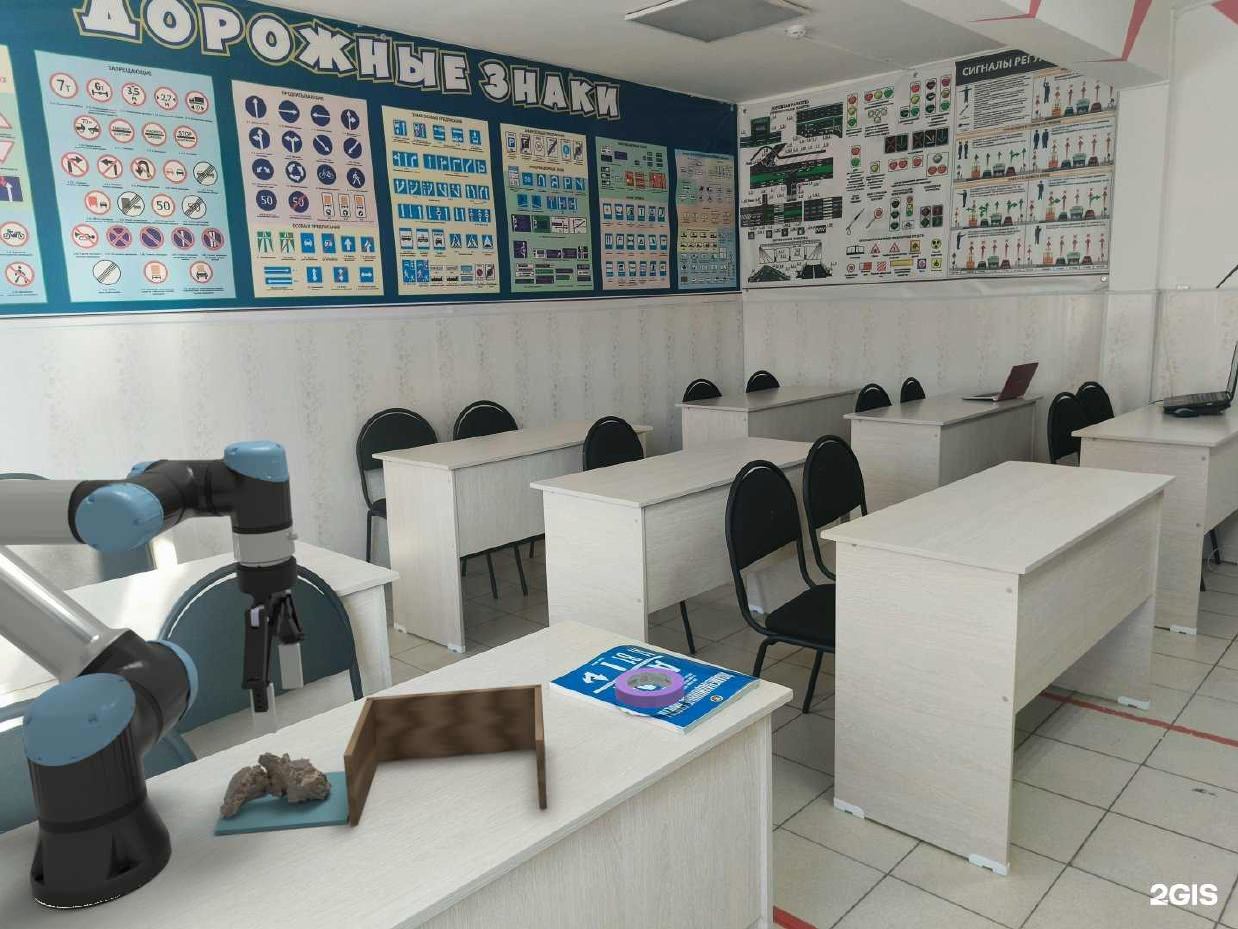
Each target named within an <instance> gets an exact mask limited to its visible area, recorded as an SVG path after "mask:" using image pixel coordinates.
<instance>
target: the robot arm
mask: <svg viewBox="0 0 1238 929" xmlns="http://www.w3.org/2000/svg"><path fill="white" fill-rule="evenodd" d="M286 454H287V453H286V449H285V447H284V445H282V444H281V443H280V442H278V441H274V440H253V441H241V442H235V443H231V444H229V445H227V446H225V448H224V451H223V456H222V458H220V459H219V458H218V459H217V458H216V459H174V460H173V459H167V458H162V459H161V458H160V459H157V460H150V461H141V462H139V463H136V464H134V465H133V466H132V467H131V470H130V472H128V473H127V475H126V478H123V479H0V636H1V637H2V638H4V639H5V640H6V641H7V642H9V643H10V644H12V645H13V646H15V647H16V648H17V649H18V650H20V652H22V653H23V654H25V655H26V656H27V657H29V658H30V659H31V660H32V661H34V662H35V663H37V664H38V665H39V666H40V667H42V668H43V669H44V670H46V671H47V672H48V673H49V674H50V675H52V676H53V677H54V678H56V679H57V682H58V684H55V685H54V686H52V687H50V688H49V689H47V690H44V691H43V692H42V693H41V694H40V695H38V696H37V697H36V698H35V699H33V701H32V702H31V703H30V704H29V705H28V707H27V708H26V710H25V712H24V714H23V717H22V733H23V734H22V748H23V751H24V753H25V756H26V761H27V766H28V771H29V777H30V782H31V788H32V794H33V800H34V806H35V811H36V817H37V820H38V833H37V834H38V835H37V837H36V844H35V849H34V853H33V857H32V862H31V867H30V871H29V881H30V886H31V887H30V888H31V893H33V894H32V897H33V896H34V897H35V898H36V899H37V900H38V901H40V902H42V903H45V904H46V905H51V906H55V907H57V906H58V907H73V906H74V907H75V906H84V905H87V904H88V905H89V904H95V903H97V902H100V901H105V900H109V901H111V900H110V899H111V898H115V897H117V896H119V895H122V896H124V895H126V894H128V893H130V892H132V891H134V890H136V889H137V888H136V887H138V886H139V885H141V884H143V883H144V884H146V883H147V882H149V881H150V880H151V879H152V878H151V877H153V878H154V877H156V875H157V874H156V873H158V872H159V871H160V870H161V869H162V870H163V868H164V867H165V866H166V865H167V863H168V862H169V860H170V858H171V856H172V844H171V843H172V842H171V837H170V836H171V835H170V832H169V828H167V826H166V825H165V823H164V821H163V820H162V817H161V815H160V814H159V813H158V811H157V809H156V808H155V806H154V804H153V803H152V801H151V799H150V798H149V795H148V789H147V781H146V775H145V768H144V762H143V761H144V757H145V756H146V755H147V754H148V752H150V751H151V750H152V749H153V747H155V746H156V745H157V744H158V743H159V742H160V741H161V740H162V739H163V738H164V737H165V736H166V734H168V732H169V731H170V730H171V729H174V727H175V726H177V725H178V724H179V723H180V722H181V720H182V719H183V718H184V717H185V716H186V714H187V712H188V711H189V709H190V708H191V707H192V705H193V703H194V701H195V700H196V697H197V694H198V691H199V690H198V689H199V680H198V677H199V676H198V675H199V674H198V671H197V668H196V666H195V663H194V661H193V660H192V658H191V656H190V655H189V654H188V653H187V652H186V650H184V649H183V648H182V647H180V646H179V645H177V644H176V643H174V642H171V641H168V640H163V639H161V640H156V639H149V640H145V639H144V638H143V637H142V636H140V635H139V634H138V633H137V632H135V631H134V630H133V629H132V628H129V627H122V628H111V627H109V626H108V625H106V624H105V623H104V622H102V621H101V620H100V619H98V618H97V617H96V616H95V615H93V613H91V612H90V611H89V610H87V609H86V608H85V607H84V606H82V605H81V604H79V603H78V602H77V600H75V599H73V598H72V597H71V596H70V595H68V594H67V593H66V592H64V590H62V589H61V588H59V586H57V585H56V584H54V583H53V582H52V581H51V580H50V579H49V578H47V577H45V576H44V575H43V574H41V572H39V571H38V570H36V569H35V568H34V567H33V566H32V565H31V564H29V563H28V562H26V561H25V559H23V558H21V557H20V556H19V555H18V554H17V553H16V552H14V551H13V550H12V549H10V548H9V547H8V546H31V545H32V546H39V545H40V546H41V545H42V546H46V545H49V546H50V545H51V546H53V545H60V546H61V545H67V546H68V545H87V546H88V547H90V548H92V549H94V550H96V551H99V552H101V553H104V554H112V555H115V554H121V553H122V554H123V553H126V552H128V551H130V550H135V549H138V548H141V547H143V546H145V545H146V544H148V543H149V542H150V541H152V540H153V539H154V538H155V537H158V536H159V535H161V534H163V533H164V532H167V531H169V530H170V529H171V528H174V527H175V526H177V525H179V524H181V523H183V522H184V521H187V520H189V519H193V518H212V517H213V518H214V517H215V518H223V517H229V519H230V523H231V524H230V525H231V534H232V535H231V537H232V550H233V557H234V560H235V561H237V563H236V564H235V573H236V583H237V589H238V590H239V592H241V593H242V594H245V595H250V596H251V597H252V598H253V601H252V602H253V603H252V604H251V605H250V609H245V610H244V613H243V614H244V626H245V628H244V629H245V630H244V647H243V648H244V650H243V652H244V653H243V668H242V669H243V671H242V672H243V673H242V682H240V683H241V684H240V686H241V690H245V691H247V690H249V695H250V706H251V715H252V724H253V725H252V726H253V734H254V735H264V734H276V733H277V732H278V722H277V709H276V702H275V699H276V698H275V688H274V683H273V682H271V678H272V677H271V676H272V670H273V659H274V650H275V642H276V637H278V639H279V641H280V642H281V643H280V644H279V645H278V654H279V664H280V676H281V686H282V690H288V689H289V690H291V689H302V688H303V687H304V680H303V679H304V677H303V669H302V668H303V667H302V657H301V644H300V642H305V641H306V633H304V632H303V631H304V627H303V623H302V619H301V616H300V612H299V608H298V605H297V601H296V597H295V594H294V589H293V588H294V587H295V586H297V585H298V582H299V575H298V563H297V558H296V557H295V556H294V554H295V553H296V546H295V541H296V540H298V539H299V534H298V532H294V530H293V529H294V522H293V519H294V518H293V513H292V512H293V511H292V498H291V497H292V496H291V482H290V479H291V474H290V472H289V466H288V460H287V455H286ZM298 642H299V643H298ZM170 855H171V856H170ZM162 870H161V871H162ZM161 871H160V872H161ZM160 872H159V873H160ZM159 873H158V874H159ZM150 878H151V879H150ZM149 879H150V880H149ZM148 880H149V881H148ZM145 882H146V883H145ZM144 884H143V885H144ZM141 886H142V885H141ZM138 888H139V887H138ZM133 889H134V890H133ZM131 890H132V891H131ZM129 891H130V892H129ZM127 892H128V893H127ZM123 894H124V895H123ZM34 897H33V898H34ZM117 898H118V897H117ZM115 899H116V898H115Z"/></svg>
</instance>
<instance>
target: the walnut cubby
mask: <svg viewBox="0 0 1238 929" xmlns="http://www.w3.org/2000/svg"><path fill="white" fill-rule="evenodd" d="M542 688H543V687H542V684H539V683H538V684H531V685H516V686H515V685H514V686H501V687H489V688H475V689H461V690H449V691H436V692H434V691H433V692H424V693H409V694H397V695H396V694H395V695H382V696H372V697H371V696H370V697H366V698H365V701H364V704H363V707H362V709H361V712H360V714H359V716H358V719H357V720H356V723H355V727H354V729H353V730H352V733H351V736H350V739H349V741H348V744H347V746H346V748H345V750H344V752H343V753H344V754H343V756H342V757H343V765H344V771H345V777H346V787H347V797H348V806H349V816H350V817H349V826H359V823H360V820H361V817H362V814H363V811H364V807H365V805H366V803H367V798H368V795H369V793H370V789H371V786H372V783H373V780H374V776H375V775H376V774H375V773H376V771H377V768H378V765H379V763H381V762H382V763H383V762H396V761H406V760H418V759H419V760H420V759H421V760H422V759H430V758H431V759H432V758H442V757H443V758H444V757H456V756H466V755H477V754H479V755H481V754H489V753H490V754H492V753H502V752H503V753H504V752H515V751H527V750H528V751H529V750H535V752H536V753H535V754H536V771H537V772H536V774H537V788H538V801H539V803H538V804H539V805H538V806H539V809H541V810H542V809H548V802H547V801H548V800H547V798H548V796H547V772H546V770H547V768H546V742H545V741H546V740H545V726H544V724H545V723H544V707H543V691H542V690H543V689H542Z"/></svg>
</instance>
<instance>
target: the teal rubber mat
mask: <svg viewBox="0 0 1238 929" xmlns="http://www.w3.org/2000/svg"><path fill="white" fill-rule="evenodd" d="M322 773H323V774H326V776H327V780H328V781H329V783H331V785H332V787H331V789H330V792H328V793H327V795H326V797H325V799H312V800H310V799H309V798H307V801H303V800H300V801H298V802H297V803H298V804H296V805H294V804H291V803H289V802H288V801H287V800H288V799H287V795H286V796H284V797H283V798H282V799H279V798H278V797H273V796H272V795H271V794H268V795H267V796H266V797H263V798H260V799H255V800H252V801H249V802H247V803H245V804H244V805H242V806H241V807H240V808H239V810H238V811H237V813H236V814H235V815H232V816H231V817H227V816H226V817H225V816H222V818H221V819H220V821H219V823H218V824H217V827H216V828H215V830H214V835H215V834H223V835H231V834H233V835H235V834H243V833H244V832H245V833H255V832H254V831H256V833H257V831H258V832H268V831H277V830H280V831H281V830H288V829H289V828H290V829H291V828H292V829H301V828H314V827H325V826H336V825H345V824H346V825H347V824H348V822H349V821H350V816H349V806H348V797H347V787H346V777H345V770H341V771H330V772H322ZM252 831H253V832H252ZM234 833H235V834H234ZM245 833H244V834H245Z"/></svg>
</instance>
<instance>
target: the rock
mask: <svg viewBox="0 0 1238 929" xmlns="http://www.w3.org/2000/svg"><path fill="white" fill-rule="evenodd" d="M323 773H324V772H322V771H320V770H319V769H317V768H316V767H315V766H313V763H312V762H310V758H303V757H301V758H300V759H295V760H294V759H292V760H291V757H290V754H289V753H288V752H285V753H284V754H282V756H281V757H280V756H278V755H276V754H273V753H271V752H267V751H266V752H265V753H264V754H260V755H259V757H258V759H257V764H256V765H253V766H249V765H247V766H244V767H242V768H241V769H240V770H238V771H237V772H236V773H234V774H233V775H232V777H231V779H230V781H229V783H228V786H227V790H226V791H225V794H224V797H223V804H222V805H220V806H219V807H220V810H219V813H220V814H221V816H222V817H223V816H225V817H226V816H227V817H231V816H232V815H235V814H236V813H237V811H238V810H239V808H240V807H241V806H242V805H244V804H245V803H247V802H249V801H252V800H255V799H260V798H263V797H266V796H267V795H268V794H271V795H272V796H273V797H278V798H279V799H282V798H283V797H284V796H286V795H287V799H288V800H287V801H288V802H289V803H291V804H294V805H296V804H298V803H297V802H298V801H300V800H303V801H307V798H309V799H310V800H312V799H325V797H326V795H327V793H328V792H330V789H331V787H332V785H331V783H329V781H328V780H327V776H326V774H323Z"/></svg>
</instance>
